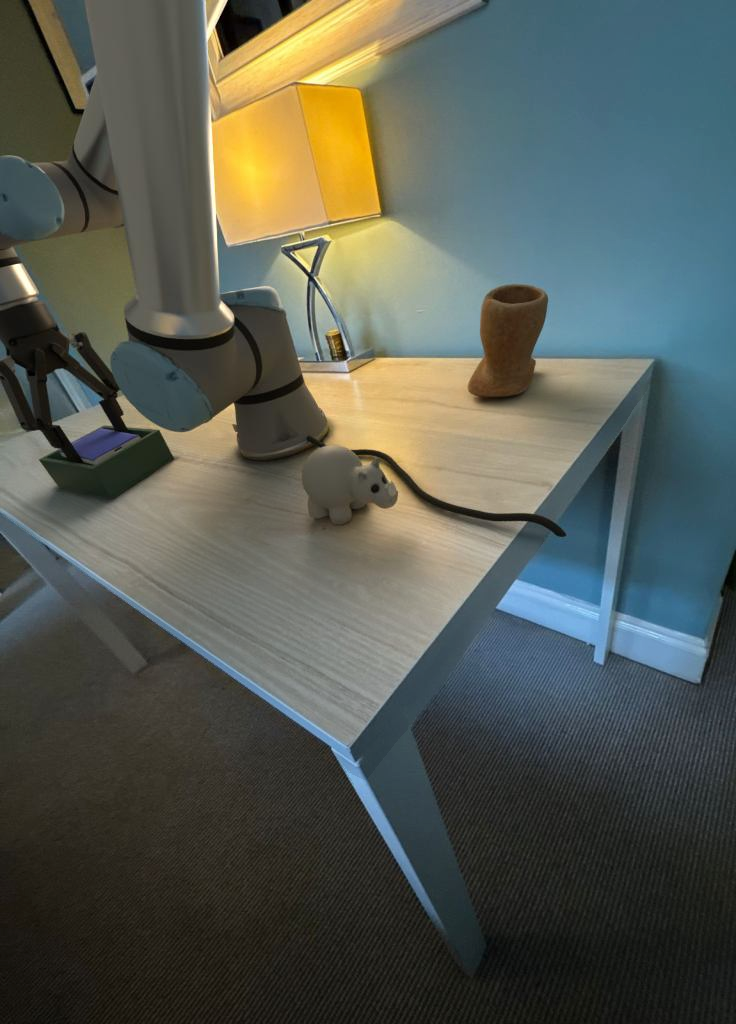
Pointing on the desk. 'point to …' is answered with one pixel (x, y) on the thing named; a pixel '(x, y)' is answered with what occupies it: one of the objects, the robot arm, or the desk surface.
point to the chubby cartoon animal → (344, 484)
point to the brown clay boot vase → (508, 339)
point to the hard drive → (102, 445)
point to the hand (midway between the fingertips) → (102, 448)
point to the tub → (111, 466)
